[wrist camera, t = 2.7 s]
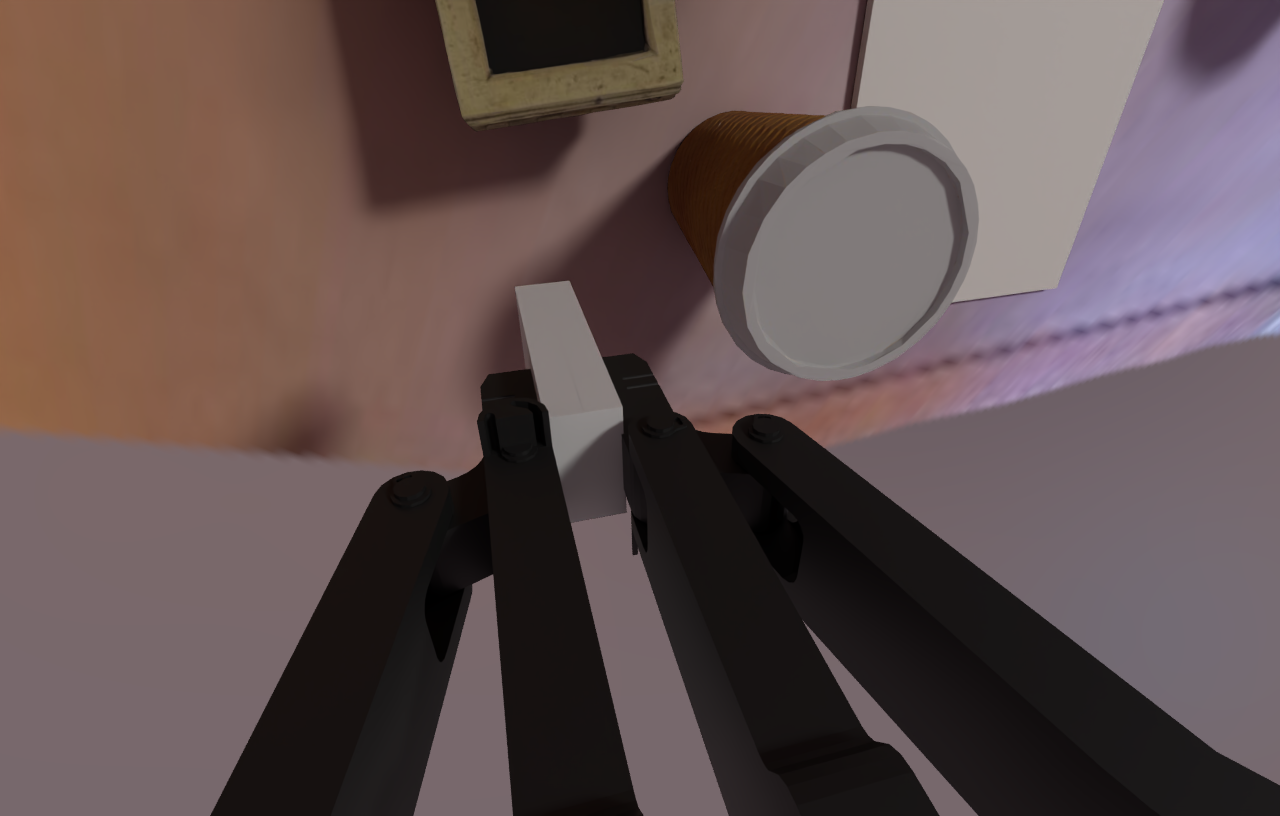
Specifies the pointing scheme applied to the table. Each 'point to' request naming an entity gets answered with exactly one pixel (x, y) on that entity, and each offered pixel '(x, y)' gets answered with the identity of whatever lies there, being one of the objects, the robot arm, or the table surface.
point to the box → (558, 57)
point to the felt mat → (1012, 111)
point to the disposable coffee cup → (826, 232)
